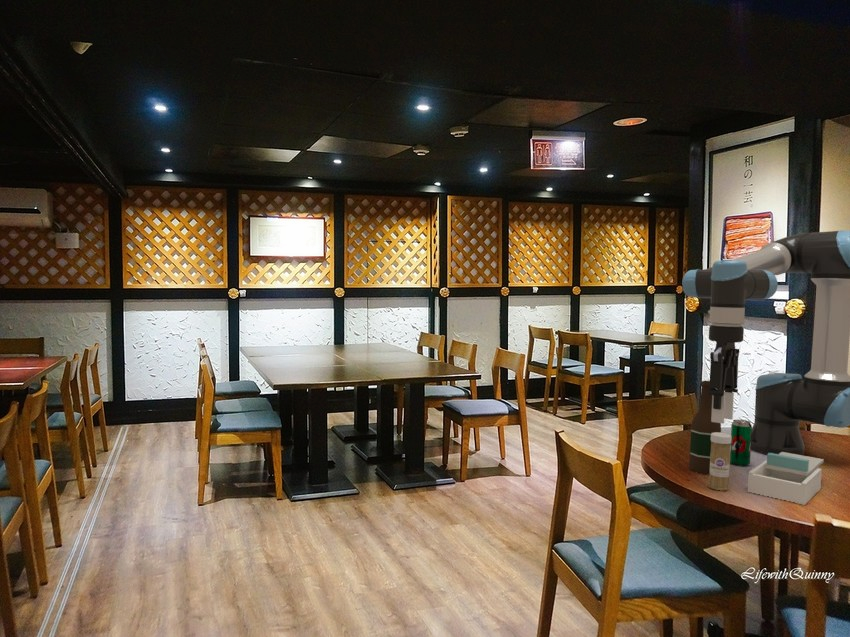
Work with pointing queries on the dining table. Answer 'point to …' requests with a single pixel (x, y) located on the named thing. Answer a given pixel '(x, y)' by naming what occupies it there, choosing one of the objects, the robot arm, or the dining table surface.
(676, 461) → the dining table surface
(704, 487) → the dining table surface
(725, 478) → the sprinkles bottle
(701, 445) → the beer bottle
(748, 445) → the soda can
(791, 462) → the lid
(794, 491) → the mailer box
